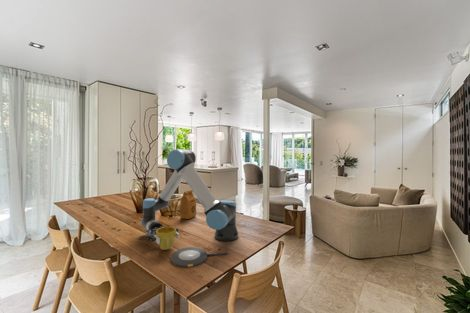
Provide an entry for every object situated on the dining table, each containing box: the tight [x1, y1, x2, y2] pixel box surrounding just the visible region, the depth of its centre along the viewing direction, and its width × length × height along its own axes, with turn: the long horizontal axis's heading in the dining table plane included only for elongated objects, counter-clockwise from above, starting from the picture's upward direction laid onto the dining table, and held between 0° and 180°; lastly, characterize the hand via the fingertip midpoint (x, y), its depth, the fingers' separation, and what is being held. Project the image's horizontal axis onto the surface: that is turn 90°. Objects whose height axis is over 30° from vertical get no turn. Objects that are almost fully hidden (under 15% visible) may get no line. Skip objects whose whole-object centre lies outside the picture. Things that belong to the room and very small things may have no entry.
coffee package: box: [179, 189, 197, 220], centre depth 184 cm, size 10×12×22 cm
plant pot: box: [156, 226, 176, 251], centre depth 125 cm, size 10×10×10 cm
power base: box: [170, 246, 229, 268], centre depth 119 cm, size 30×18×2 cm, turn 104°
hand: (169, 238), depth 122 cm, fingers closed on plant pot, 10 cm apart
